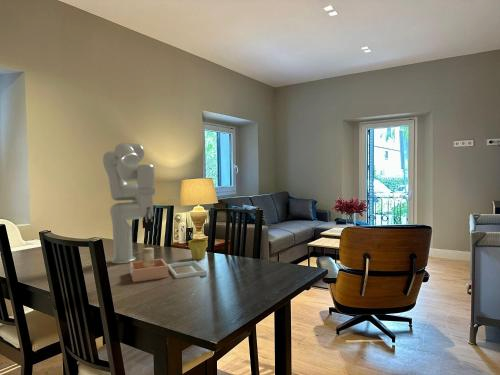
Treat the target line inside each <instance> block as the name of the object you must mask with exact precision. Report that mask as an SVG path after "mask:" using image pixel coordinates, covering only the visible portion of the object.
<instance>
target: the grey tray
mask: <svg viewBox="0 0 500 375" xmlns="http://www.w3.org/2000/svg"><path fill="white" fill-rule="evenodd" d="M166 264H167V265H168V271H170V273H171V274H172V276H173V277H174V278H175V279H182V278H189V277H195V276H198V277H199V278H203V277H204V278H205V277H207V273H208V272H207V269H205V268H204V267H203V266H202V265H200V263H198V261H197V260H190V261H183V262H174V263H166ZM184 266H188V267H189V268H190V269H191V270H192V272H191V271H190V272H185V273H177V272H176V270H175V269H174V268H176V267H184Z"/></svg>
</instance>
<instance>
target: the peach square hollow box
mask: <svg viewBox="0 0 500 375" xmlns="http://www.w3.org/2000/svg"><path fill="white" fill-rule="evenodd" d="M167 264H168V263H167V262H166V261H165V260H164V259H163V258H156V259H155V258H154V267H151V268H144V269H143V260H139V261H138V260H137V261H132V262H129V274H130V277H131V279H132V283H135V282H142V281H143V282H144V281H150V280H159V279H165V278H169V276H170V275H169V269H168V265H167Z"/></svg>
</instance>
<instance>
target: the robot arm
mask: <svg viewBox="0 0 500 375" xmlns="http://www.w3.org/2000/svg"><path fill="white" fill-rule="evenodd" d="M144 157H145V149H144V146H142V145H141V144H140V143H128V142H127V143H126V142H125V143H124V142H123V143H119V144H117V145H116V146H115V148H114V150H111V151H110V150H109V151H107V152H105V153H104V154H103V158H102V162H103V167H104V170H105V172H106V174H107V176H108V184H109V189H110V191H109V192H110V195H111V199H112V200H113V201H115V202H116V203H114V204H113V205H111V207H110V210H109V213H110V217H111V223H112V224H111V225H112V244H113V258H111V259H110V263H112V264H117V265H118V264H119V265H121V264H128V263H129V264H130V262H136V257H135V256H133V236H132V235H133V232H132V226H131V225H130V224H129V223H128V221H130V220H140V219H142V220H141V222H142V229H144V230H145V232H153V231H154V222H153V216H154V197H153V196H155V195H156V186H155V185H156V184H155V181H156V180H155V166H154V165H153V164H150V163H149V164H148V163H147V164H139V163H140V162H141V161H142V160H143V158H144ZM128 182H129V183H128ZM130 182H133V183H130ZM136 182H137V183H136ZM125 201H126V202H125ZM129 201H130V202H129ZM131 201H132V202H131ZM117 202H118V203H117Z"/></svg>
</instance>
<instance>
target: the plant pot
mask: <svg viewBox="0 0 500 375" xmlns="http://www.w3.org/2000/svg"><path fill="white" fill-rule="evenodd" d="M188 248H189V250H190V253H191V258H192V260H193V261H197V260H198V261H199V260H204V259H205V258H206V251H207V248H208V240H207V239H206V238H205V239H204V238H203V239H201V238H198V239H197V238H196V239H191V240H188Z"/></svg>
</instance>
